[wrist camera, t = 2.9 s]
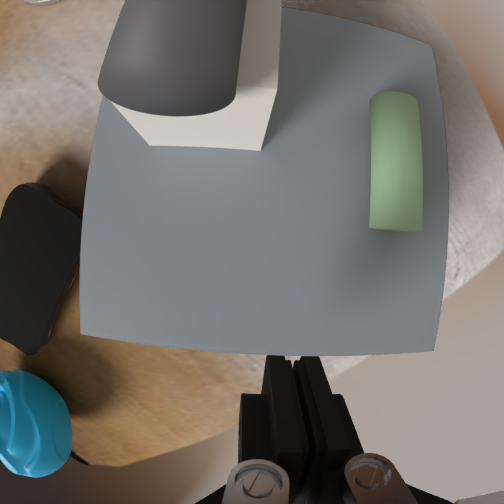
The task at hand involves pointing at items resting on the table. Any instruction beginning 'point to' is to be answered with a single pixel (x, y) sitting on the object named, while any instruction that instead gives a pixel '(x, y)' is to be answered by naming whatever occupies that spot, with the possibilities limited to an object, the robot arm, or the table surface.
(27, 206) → the black sponge
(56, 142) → the table surface
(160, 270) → the plate
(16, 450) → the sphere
